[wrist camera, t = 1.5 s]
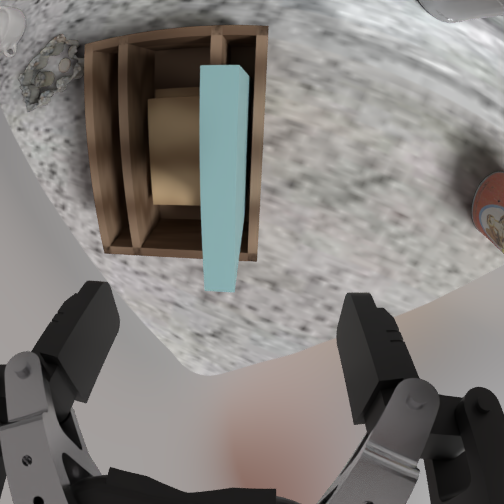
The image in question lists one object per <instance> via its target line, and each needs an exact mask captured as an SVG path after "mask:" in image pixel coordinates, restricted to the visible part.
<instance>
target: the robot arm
mask: <svg viewBox="0 0 504 504" xmlns="http://www.w3.org/2000/svg"><path fill="white" fill-rule="evenodd" d="M418 1H419V2H420V4H421V5H422V6H423V7H424V9H425V10H427V11H428V12H429V13H430V14H431V15H432V16H434V17H435V18H437V19H439V20H441V21H444V22H447V23H455V22H462V21H466V20H473V19H479V18H486V17H493V16H502V15H504V0H418ZM119 326H120V319H119V314H118V311H117V307H116V304H115V301H114V298H113V294H112V290H111V287H110V285H109V283H108V282H101V281H87V282H86V283H85V284H84V285H83V287H82V288H81V289H80V291H79V292H78V294H77V293H75V294H74V295H73V296H71V297H70V298H69V299H67V300H66V301H65V302H64V303H63V305H62V306H61V308H60V309H59V310H58V314H56V315H55V316H54V318H53V319H52V322H50V323H49V325H48V326H47V328H46V330H45V331H44V332H43V334H42V336H41V337H40V339H39V340H38V342H37V343H36V345H35V346H34V348H33V350H32V351H31V352H28V351H26V352H21V353H18V354H17V355H15V356H14V357H12V358H11V359H10V361H9V362H8V363H7V364H6V365H0V497H1V493H2V490H3V486H4V482H5V479H6V476H7V479H8V484H9V488H10V492H11V496H12V500H13V503H14V504H299V503H297V502H295V501H293V500H290V499H286V498H283V497H278V496H276V489H248V488H247V489H246V488H228V489H221V490H213V491H205V492H195V493H187V492H183V491H180V490H178V489H175V488H173V487H170V486H168V485H165V484H163V483H161V482H158V481H156V480H154V479H152V478H150V477H147V476H144V475H139V474H135V473H131V472H127V471H123V470H119V469H115V468H111V467H110V469H109V472H108V475H101V473H100V471H99V469H98V467H97V466H96V464H95V463H94V462H93V460H92V458H91V457H90V455H89V453H88V450H87V447H86V445H85V442H84V439H83V436H82V433H81V430H80V428H79V424H78V421H77V418H76V415H75V411H74V409H73V408H72V405H73V403H74V400H76V401H80V402H84V403H87V401H88V398H89V396H90V393H91V391H92V388H93V386H94V384H95V382H96V379H97V377H98V375H99V373H100V370H101V368H102V366H103V363H104V361H105V359H106V357H107V355H108V352H109V350H110V348H111V346H112V344H113V342H114V339H115V337H116V335H117V333H118V331H119ZM337 346H338V350H339V355H340V359H341V364H342V368H343V373H344V378H345V382H346V387H347V392H348V397H349V402H350V407H351V412H352V417H353V422H354V425H358V424H365V425H366V430H367V432H366V434H365V435H364V437H363V439H362V440H361V442H360V444H359V445H358V447H357V448H356V450H355V452H354V453H353V455H352V456H351V458H350V459H349V461H348V462H347V464H346V465H345V467H344V468H343V470H342V471H341V473H340V474H339V476H338V477H337V479H336V480H335V481H334V483H333V484H332V485H331V486H330V487H329V489H328V490H327V491H326V493H325V494H324V495H323V496H322V498H321V499H320V500H319V501H318V503H317V504H406V502H407V500H408V498H409V497H410V495H411V493H412V491H413V488H414V486H415V484H416V482H417V480H418V477H419V472H420V470H419V469H418V468H417V463H418V461H419V459H420V458H422V459H424V464H425V470H426V475H427V481H428V488H429V494H430V501H431V504H504V414H503V411H502V408H501V406H500V403H499V401H498V399H497V397H496V396H495V395H494V394H493V393H492V392H491V391H490V390H488V389H486V388H483V387H475V388H472V389H470V390H469V391H468V392H467V393H466V395H465V396H464V397H463V398H460V397H452V396H444V395H439V394H438V392H437V391H436V389H435V388H434V387H433V386H432V385H431V384H430V383H429V382H427V381H425V380H422V379H420V378H419V376H418V374H417V371H416V369H415V366H414V364H413V361H412V359H411V356H410V354H409V352H408V349H407V347H406V345H405V342H403V338H402V335H401V333H400V332H399V328H398V326H397V324H396V322H395V319H394V318H393V317H392V316H391V315H390V314H389V313H388V312H387V311H386V310H385V309H384V308H377V307H376V305H375V303H374V300H373V298H372V296H371V294H370V293H347V294H346V296H345V300H344V304H343V307H342V311H341V315H340V319H339V323H338V327H337Z"/></svg>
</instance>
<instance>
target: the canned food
mask: <svg viewBox="0 0 504 504" xmlns="http://www.w3.org/2000/svg"><path fill="white" fill-rule="evenodd" d="M472 220H473V223H474V225H475V227H476V229H477V230H478V231H479V232H481V233H482V234H483V235H485V236H486V237H487V238H488V239H489V240H490V241H491V242H492V243H493V244H494V245H495V246H496V247H497V248H499V249H500V250H501V251H502V252H503V253H504V172H494V173H492V174H490V175H488V176H487V177H486V178H485V179H484V180H483V181H482V182H481V184H480V185H479V187H478V189H477V191H476V193H475V196H474V199H473V203H472Z"/></svg>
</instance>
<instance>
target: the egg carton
mask: <svg viewBox="0 0 504 504" xmlns="http://www.w3.org/2000/svg"><path fill="white" fill-rule="evenodd" d="M65 42H66V44H68V45H72V46H71V47H70V48H69V51H68V56H69V57H70V58H71V59H78V63H76V65H75V66H74V68H73V69H74V71H73V76H64V77H62V78H61V79H60V80H57V84H56V87H57V89H54V90H47V91H44V92H43V93H42V94H41V95H40V99H39V100H38V99H37V97H38V95H39V92H40V87H47V86H50V85H52V83H53V81H54V78H55V77H54V73H53V72H51V71H49V72H41V71H40V72H39V73H38V74H37V76H36V78H35V85H32V84H31V82H30V81H31V79H32V77H33V71H34V70H37V69H43V68H44V67H45V66H46V65H47V62H48V57H49V56H56V55H59V54H60V53H61V52H62V51H63V48H64V43H65ZM78 47H79V43H78V41H77V40H67V39H66V37H65V36H64V34H61V35H60V34H59V35H58V36H57V37H55V38H54V39H53V40H52V41H50V42H49V43H48V44H47V45H46V48H44V49H43V50H42V51H40V53H39V54H38V55H37V56H36V57H35V58H34V59H32V61H31V62H30V63H29V65H28V67H27V68H26V69H25V72H24V73H22V74H21V75H20V76H19V78H18V80H19V81H20V82H21V86H20V89H21V90H22V95H23V98H24V102H25V103H26V107H27V112H30V111H32V110H34V109H35V108H37V107H39V106H44V105H47V104H48V103H50V102H51V100H50V97H52V96H53V95H54V94H55V93H59V92H63V91H64V90H65V89H66V85H67V84H68V83H69V82H70V81H71V80H72V79H79V78H81V77H82V76H83V75H84V73H83V70H84V58H77V57H76V53H77V48H78ZM70 66H71V61H70V59H68V58H64V59H62V60H61V62H60V63H59V71H60V72H62V73H64V72H67V71H68V70H69V68H70ZM38 101H39V102H38Z"/></svg>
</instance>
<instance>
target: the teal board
mask: <svg viewBox="0 0 504 504" xmlns="http://www.w3.org/2000/svg"><path fill="white" fill-rule="evenodd" d="M251 90H252V79H251V78H250V76H249V75H248V74H247V73H246V72H245V71H244V70H243V68H242V67H241V66H240V65H200V197H201V227H202V250H203V269H204V286H205V291H220V292H235V285H236V277H237V269H238V261H239V253H240V246H241V238H242V230H243V223H244V215H245V208H246V201H247V193H248V168H249V141H250V115H251Z"/></svg>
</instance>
